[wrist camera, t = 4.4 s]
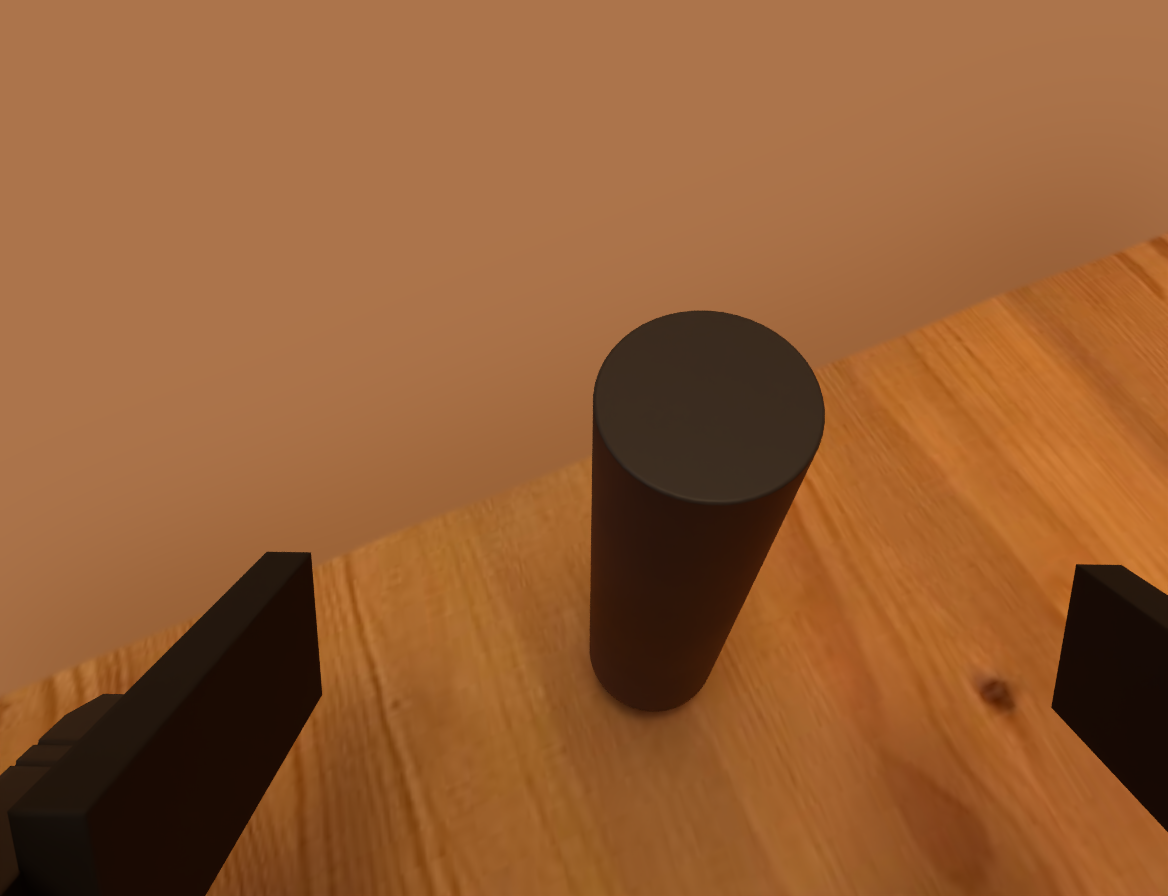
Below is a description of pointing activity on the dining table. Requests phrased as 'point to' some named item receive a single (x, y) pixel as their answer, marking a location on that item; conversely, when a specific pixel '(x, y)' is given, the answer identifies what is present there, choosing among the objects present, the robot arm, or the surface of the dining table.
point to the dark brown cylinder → (689, 492)
